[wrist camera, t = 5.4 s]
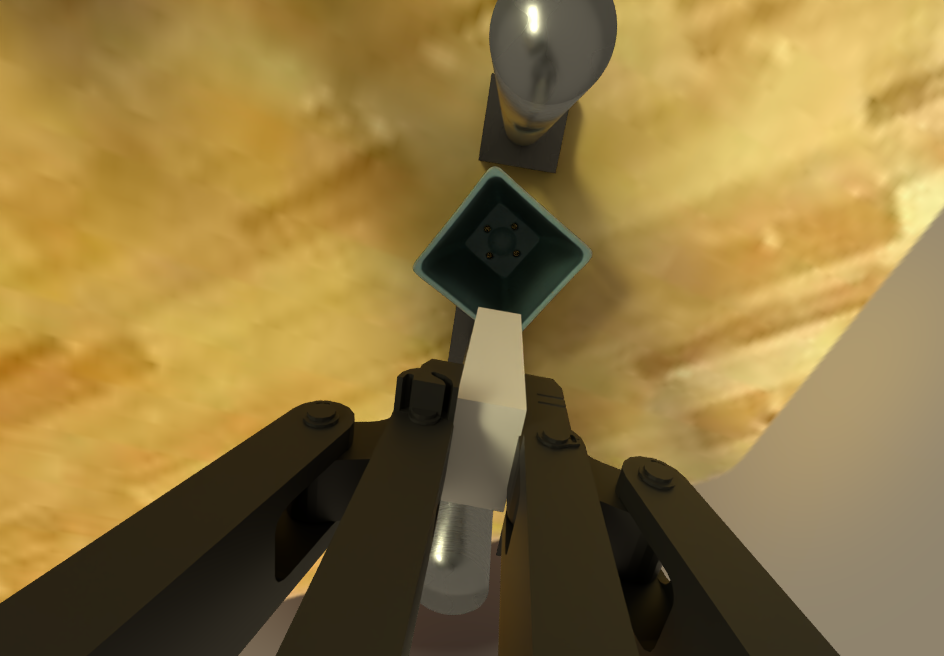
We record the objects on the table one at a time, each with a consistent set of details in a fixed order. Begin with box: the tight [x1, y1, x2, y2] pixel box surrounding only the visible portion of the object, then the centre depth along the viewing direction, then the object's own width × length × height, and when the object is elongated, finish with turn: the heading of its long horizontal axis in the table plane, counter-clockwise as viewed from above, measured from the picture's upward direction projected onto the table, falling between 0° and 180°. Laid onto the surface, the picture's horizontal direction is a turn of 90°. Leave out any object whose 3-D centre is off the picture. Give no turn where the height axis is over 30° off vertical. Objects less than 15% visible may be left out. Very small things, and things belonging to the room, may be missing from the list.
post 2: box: [479, 0, 617, 173], centre depth 23 cm, size 6×6×26 cm
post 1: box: [420, 306, 493, 615], centre depth 29 cm, size 6×6×26 cm
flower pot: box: [413, 166, 592, 332], centre depth 34 cm, size 9×9×9 cm
